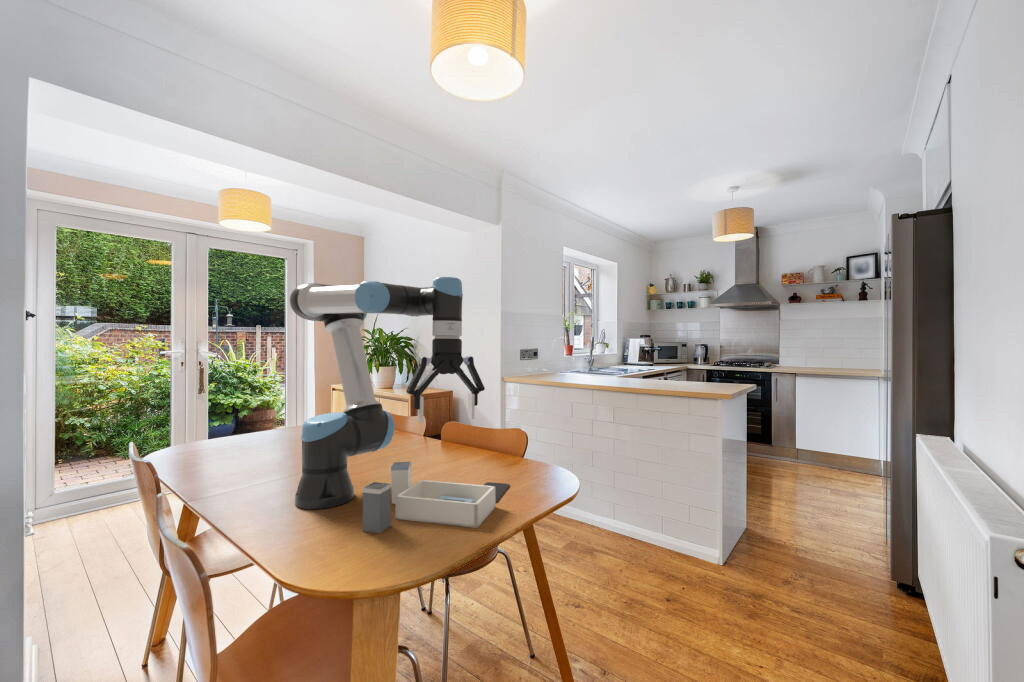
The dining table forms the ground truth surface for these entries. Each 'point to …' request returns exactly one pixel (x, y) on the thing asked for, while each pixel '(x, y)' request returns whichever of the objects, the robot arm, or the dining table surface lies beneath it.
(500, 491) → the smartphone
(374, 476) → the dining table surface
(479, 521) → the tray box
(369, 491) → the grey plug
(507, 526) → the dining table surface
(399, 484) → the cream plug
